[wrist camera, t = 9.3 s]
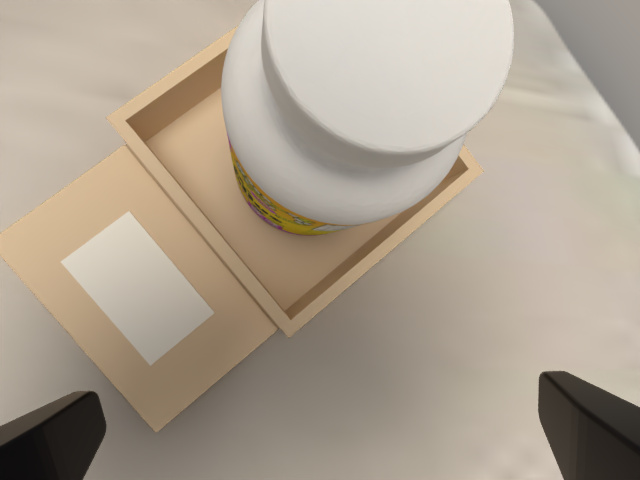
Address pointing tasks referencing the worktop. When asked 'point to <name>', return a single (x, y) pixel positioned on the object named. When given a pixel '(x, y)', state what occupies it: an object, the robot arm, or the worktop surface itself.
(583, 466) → the robot arm
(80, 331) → the mailer box
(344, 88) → the supplement bottle
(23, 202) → the worktop surface
